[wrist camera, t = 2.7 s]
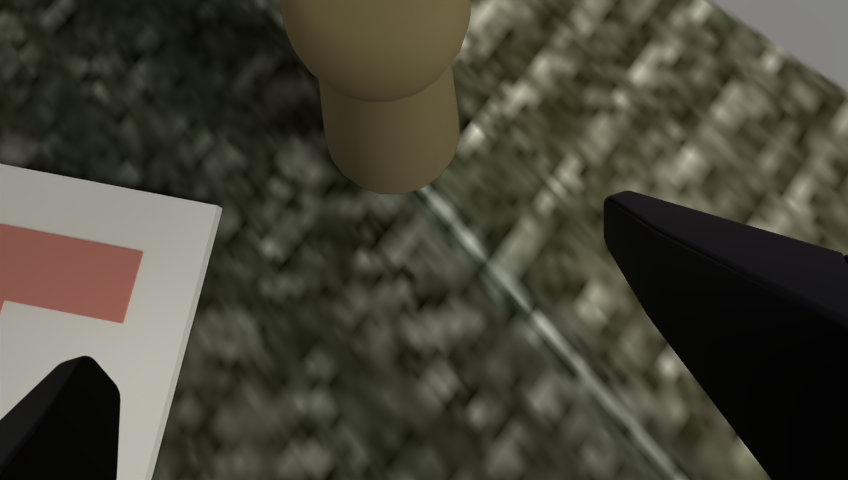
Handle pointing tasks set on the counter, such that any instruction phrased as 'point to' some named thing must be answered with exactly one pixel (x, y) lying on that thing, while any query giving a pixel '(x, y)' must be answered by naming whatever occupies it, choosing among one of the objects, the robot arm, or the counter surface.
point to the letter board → (100, 293)
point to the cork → (383, 84)
